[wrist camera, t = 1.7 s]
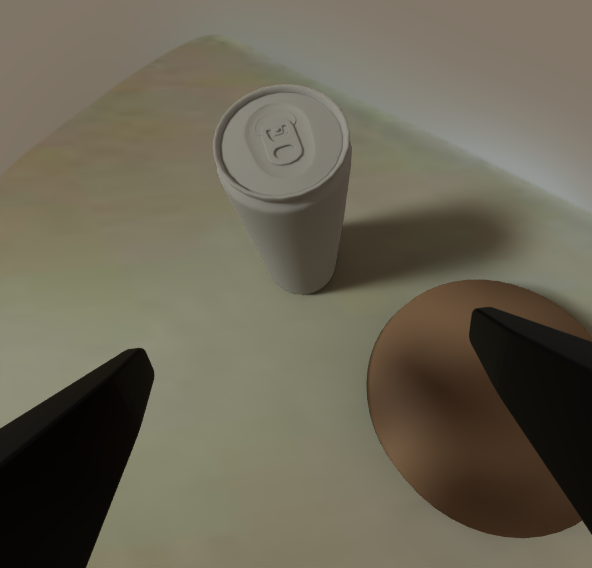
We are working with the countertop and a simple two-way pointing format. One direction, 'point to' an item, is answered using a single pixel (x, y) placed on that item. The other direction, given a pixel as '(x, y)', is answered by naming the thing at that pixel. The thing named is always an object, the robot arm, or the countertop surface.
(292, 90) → the beverage can
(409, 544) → the countertop surface
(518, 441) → the disc
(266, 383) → the countertop surface
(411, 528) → the countertop surface
